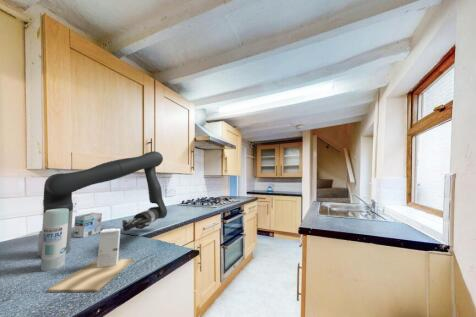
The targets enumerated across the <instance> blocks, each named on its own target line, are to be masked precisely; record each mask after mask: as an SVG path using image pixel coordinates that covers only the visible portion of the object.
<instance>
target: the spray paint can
mask: <svg viewBox="0 0 476 317" xmlns="http://www.w3.org/2000/svg"><path fill="white" fill-rule="evenodd" d="M68 218H69V209H66V208H62V209H51V210H46V212H45V218H44V232H43V246H42V257H41V264H40V270H41V271H42V272H49V271H54V270H57V269H60V268H62V267H64V266H65V263H66V255H67V253H66V242H67V230H68Z"/></svg>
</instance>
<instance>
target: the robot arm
mask: <svg viewBox="0 0 476 317" xmlns="http://www.w3.org/2000/svg"><path fill="white" fill-rule="evenodd" d="M163 158H164V157H163V154H161V153H160V152H159V151H148V152H146V153H144V154H141V155H139V156H133V157H126V158H119V159H115V160H111V161H107V162H103V163H100V164H98V165H96V166H93V167H90V168H87V169H84V170H77V171H72V172H66V173H65V172H63V173H55V174H51V175H50V176H49V177H47V179H46V180H45V182H44V186H43V200H42V202H43V204H42V205H43V214H42V224H41V225H42V227H41V231H39V232H38V244H37V245H38V246H37V257H40V258H42V246H43V232H44V218H45V212H46V210H51V209H62V208H66V209H69V218H68V230H67V242H66V254H68V253H69V252H70V251H71V241H72V230H73V229H72V228H73V216H74V215H73V211H74V203H73V200H72V199H73V198H72V196H73V193H75V192H76V191H79V190H82V189H85V188H87V187H89V186H92V185H96V184H102V183H106V182H109V181H113V180H116V179H120V178H123V177H125V176H129V175H131V174H134V173H135V172H139V171H141V170H143V172H144V174H145V175H144V176H145V178H146V183H147V189H148V199H149V203H150V204H156V205H157V206H152V207H149V208H148V209H147V210H144V211H141V212H139V213H136V214H135V215H134V216H133V217H132V219H129V220H128V221H127V220H125V219H123V220H122V222H121V226H122V230H123V231H124V232H125V231H126V232H128V231H129V230H134V229H138V230H142V229H145V228H146V227H149V226H150V225H151V224H152V223H154V222H156V220H160V219H164V218H166V216H167V215H168V210H167V207H166V205H165V202H164V200H163V194H162V193H163V192H162V186H161V184H160V182H159V180H158V177H157V173H156V167H159V166H160V165H161V164H162V163H163V160H164V159H163Z"/></svg>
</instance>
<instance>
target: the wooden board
mask: <svg viewBox="0 0 476 317" xmlns="http://www.w3.org/2000/svg"><path fill="white" fill-rule="evenodd" d="M134 261H135V259H134V258H118V262H117V264H116V265H113V266H106V267H99V268H97V262H98V258H97V259H95V260H93V261H92V262H90V263H88V264H87V265H85V266H83V267H82V268H80V269H78V270H77V271H75V272H73V273H72V274H70V275H69V276H67V277H65V278H64V279H62V280H61V281H59V282H56V283H55V284H54V285H52V286H50V287H49V288H47V290H46V292H47V293H52V292H53V293H54V292H55V293H56V292H57V293H58V292H59V293H66V292H67V293H69V292H71V293H73V292H74V293H77V292H78V293H92V292H93V293H95V292H96V293H97V292H98V291H100V290H101V289H102V288H104V286H106V285H107V284H108V283H109V282H111V280H113V279H114V278H115V277H116V276H117V275H119V274H120V273H121V272H122V271H123V270H124V269H126V268H127V267H129V265H131V264H132V263H133V262H134Z"/></svg>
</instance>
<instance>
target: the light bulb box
mask: <svg viewBox="0 0 476 317" xmlns="http://www.w3.org/2000/svg"><path fill="white" fill-rule="evenodd" d="M102 215H103V213H101V212H100V213H98V212H90V213H85V214H81V215H75V217H74V228H73V238H86V237H89V236H90V237H91V236H93V235H96V233H97V234H100V233H99V232H101V231H102V219H103V217H102Z"/></svg>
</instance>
